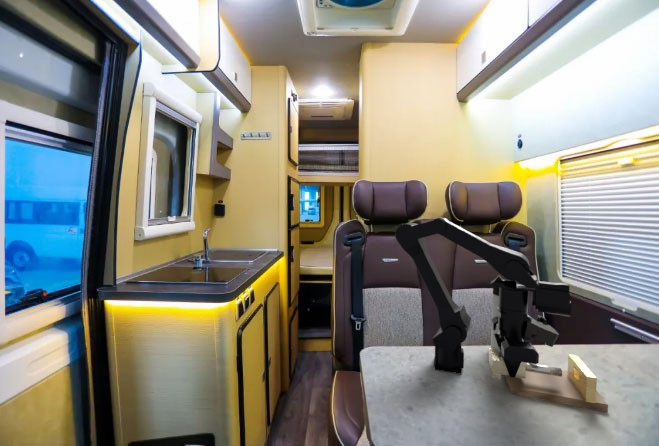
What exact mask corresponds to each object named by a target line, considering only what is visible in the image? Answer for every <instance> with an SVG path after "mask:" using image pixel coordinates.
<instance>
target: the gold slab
mask: <svg viewBox="0 0 659 446" xmlns="http://www.w3.org/2000/svg"><path fill="white" fill-rule="evenodd" d="M567 371H568V374H567V376H568V378H569V379H570V381H571V382H572V383H573V385H574V386H575V387H576V389H577V390H578V392H579V393H580V394H581V396H582V397H583V399H584V400H585V401H586V402H590V403H596V391H597V384H598V383H597V380H598V379H597V377H596V375H595V374H594V373H593V372H592V371H591V370H590V369H589V367H587V365H586V364H585V363H584V362H583V361H582V359H580V357H579V356H578V355H577V354H568V355H567Z"/></svg>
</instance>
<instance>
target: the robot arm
mask: <svg viewBox="0 0 659 446" xmlns="http://www.w3.org/2000/svg"><path fill="white" fill-rule="evenodd" d="M433 235H440V236H441V237H444V238H445V239H447V240H449V241H451V242H453V243H454V244H456V245H458V246H460V247H462V248H463V249H465V250H467V251H469V252H470V253H472V254H474V255H476V256H478V257H479V258H480V259H481V258H482V260H484V261H485V262H486V263H487V264H488V265H489V266H490V267H491V268H492V269H493V270H495V271H496V272H498V273H499V275H497V277H496V278H494V279H493V280H491V281H490V284H489V285H490V287H492V288H493V287H499V307H497V312H498V314H499V316H498V317H496V316H495V317H494V318H493V319H492V318H491V320H490V321H491V324H490V326H491V327H492V330H496V328H497V330H498V334H494V336H495V339H496V341H497V344H498V347H499V350H500V352H501V354H502V357H503V360H504V362H505V365H506V368H507V371H508V373H509V376H510V377H515V376H516V374H517V371H518V369H519V366H520V364H521V362H526V363H532V364H538V365H539V363H540V359H539V358H540V354H539V353H538V350H537V349H536V347H535V346H534V345H533V344H532V343H531V342H530V341H532V339H534V340H537V341H539V342H541V343H544V344H545V345H547V346H548V347H554V345H555V343H556V341H557V339H558V337H559V335H560V334H559V332H558V331H557V330H556V329H555V328H553V327H552V326H551V325H550V324H547V319H546V318H545V316H542V315H539V314H537V315H535V316H534V317H531V316H530V314H528V312H529V292H531V307H534V309H535V310H537V312H539V313H545V314H551V315H559V316H563V317H571V313H572V312H571V311H572V302H571V293H570V285H569V283H567V282H566V283H565V282H552V281H542V280H541V281H540V280H539V279H538V277H537V275H536V274H535V273H534V272H533V271H532V270H531V269H530V261H529V259H528V257H527V256H526V255H525V254H523V253H521V252H520V251H516V250H513V249H510V248H508V247H503V246H500V245H496V244H493V243H491V242H489V241H487V240H486V239H484V238H481V237H480V236H478V235H476V234H474V233H472V232H470V231H468V230H466V229H465V228H463V227H462V226H459V225H457V224H455V223H454V222H452V221H450V220H449V219H448V218H446V217H438V218H435V219H433V220H429V221H426V222H423V223H415V222H409V223H404V224H403V223H402V224H400V225H399V226H397V228H396V230H395V233H394V237H395V240H396V242H397V244H399V246H400V247H401V249H402V250H403V251H404V252H405V253H406V254H407V255H408V256H409V257H410V258H411V259H412V261H413V263H414V265H415V267H416V270H417V271H418V273H419V275H420V277H421V280H422V281H423V283H424V285H425V287H426V290H427V291H428V293H429V295H430V298H431V299H432V301H433V303H434V306H435V307H436V311H437V317H438V323H439V329H438V330H437V332H436V333H435V335H434V336H433V337H432V342H433V344H434V359H433V361H434V363H433V369H434V370H436V371H442V372H446V373H452V374H459V375H462V374H463V373H462V372H463V369H464V367H465V366H464V364H465V363H464V361H465V352H464V351H465V350H464V348H462V343H464V342H465V341H466V340H467V337H468V335H469V333H470V330H471V326H472V323H471V321H472V317H471V316H470V315H469V314H468V313H467V312H468V311H467V309H466V306H465V305H464V304H462V305H458V304H457V303H456V302H455V301H454V300H453V298H452V296H451V295H450V292H449V291H448V288H447V286H446V285H445V282H444V281H443V278H442V276H441V275H440V273H439V271H438V268H437V267H436V265H435V263H434V261H433V259H432V257H431V255H430V253H429V251H428V245H427V239H426V238H427V237H431V236H433ZM502 276H503V277H502ZM504 278H505V279H504ZM517 283H519V284H517ZM491 327H490V328H491ZM524 340H525V341H524ZM528 341H529V342H528Z"/></svg>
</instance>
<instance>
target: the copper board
mask: <svg viewBox="0 0 659 446" xmlns="http://www.w3.org/2000/svg"><path fill="white" fill-rule="evenodd" d="M561 370H562V377H559V376H553V375H547V374H541V373H535V372H529V371H526V376H525V378H520V377H510V376H508V375H504V378H505V382H506V384H507V386H508V389H509V392H510V394H511V395H515V396H520V397H521V396H522V397H527V398H532V399H536V400H544V401H549V402H553V403H559V404H564V405H569V406H574V407H580V408H585V409H591V410H596V411H603V412H606V413H607V412H609V404H608V402H607V401H606V399H604V397H603V396H602V395H601V394H600V393H599V391H597V390H596V403H590V402H586V401H585V400H584V399H583V397H582V396H581V394H580V393H579V392H578V390H577V389H576V387H575V386H574V385H573V383H572V382H571V381H570V379H569V378H568V376H567V374H568V370H563V369H561Z"/></svg>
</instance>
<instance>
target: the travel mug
mask: <svg viewBox="0 0 659 446" xmlns="http://www.w3.org/2000/svg"><path fill="white" fill-rule="evenodd" d="M517 284H520V282H517ZM491 298H492V299H491V300H492V301H491V302H492V303H491V319H493V318H494V317H495V316H496V317H498V316H499V314H498V312H497V307H499V287H492V297H491ZM490 328H491V330H490V332H491V333H490V334H491V335H490V347H495V348H497V351H498V352H500V350H499V347H498V344H497V341H496V339H495V336H494V334H498V330H497V328H496V330H492V327H490Z"/></svg>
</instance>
